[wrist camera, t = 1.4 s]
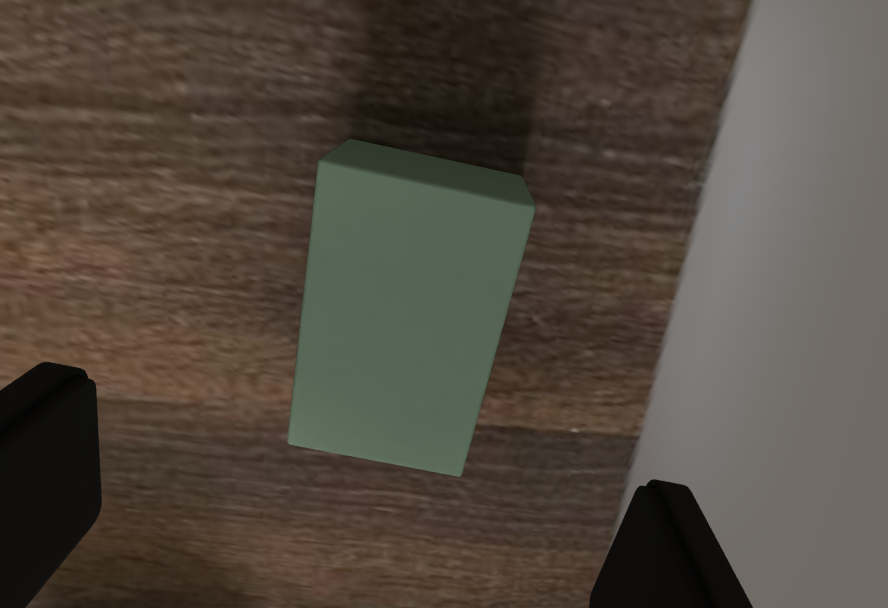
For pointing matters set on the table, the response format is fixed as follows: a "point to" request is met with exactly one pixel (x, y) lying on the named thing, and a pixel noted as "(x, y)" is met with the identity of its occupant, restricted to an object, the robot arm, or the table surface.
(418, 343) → the green block
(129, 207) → the table surface
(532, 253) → the table surface
